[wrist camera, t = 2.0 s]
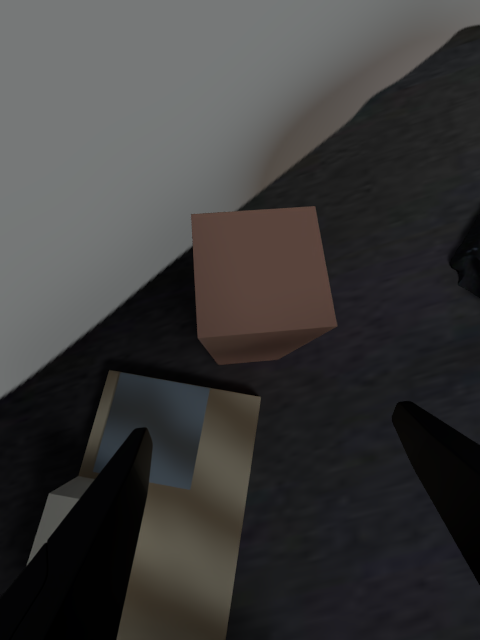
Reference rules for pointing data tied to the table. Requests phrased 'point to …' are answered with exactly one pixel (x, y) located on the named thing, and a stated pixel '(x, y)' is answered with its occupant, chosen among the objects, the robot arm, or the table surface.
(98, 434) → the board
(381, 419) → the table surface
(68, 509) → the built blocks
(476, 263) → the dark slate chunk
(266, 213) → the tower block
